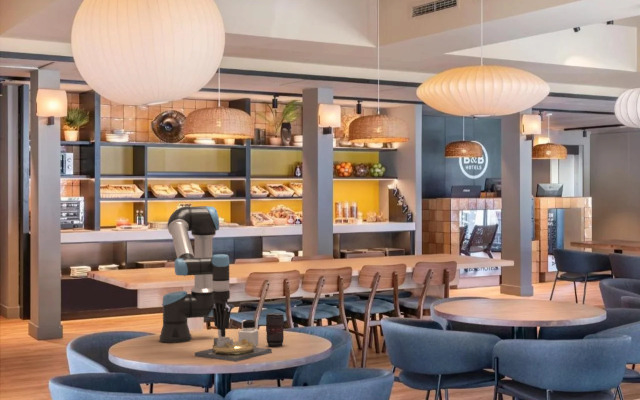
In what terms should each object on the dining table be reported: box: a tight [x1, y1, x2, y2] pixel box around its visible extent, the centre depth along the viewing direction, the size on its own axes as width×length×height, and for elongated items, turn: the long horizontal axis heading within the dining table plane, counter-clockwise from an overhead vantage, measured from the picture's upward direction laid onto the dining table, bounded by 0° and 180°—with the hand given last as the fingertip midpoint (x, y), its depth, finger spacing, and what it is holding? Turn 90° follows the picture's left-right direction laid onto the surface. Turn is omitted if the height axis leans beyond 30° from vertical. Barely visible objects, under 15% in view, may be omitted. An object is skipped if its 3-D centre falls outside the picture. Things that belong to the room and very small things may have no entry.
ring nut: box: [212, 336, 254, 354], centre depth 405 cm, size 18×18×5 cm
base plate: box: [194, 346, 273, 362], centre depth 405 cm, size 24×24×2 cm
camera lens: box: [265, 312, 285, 348], centre depth 424 cm, size 8×8×15 cm
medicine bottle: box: [238, 319, 259, 347], centre depth 426 cm, size 7×7×12 cm
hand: (221, 343), depth 402 cm, fingers closed
